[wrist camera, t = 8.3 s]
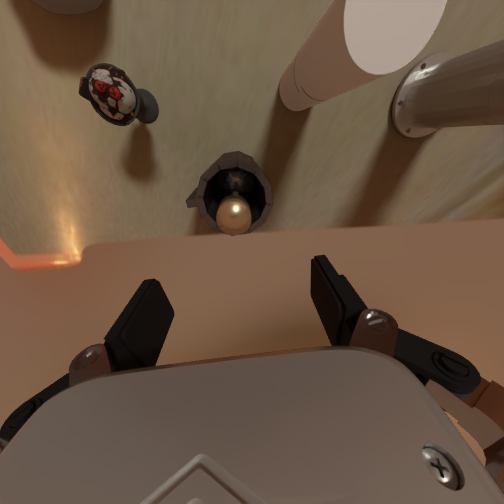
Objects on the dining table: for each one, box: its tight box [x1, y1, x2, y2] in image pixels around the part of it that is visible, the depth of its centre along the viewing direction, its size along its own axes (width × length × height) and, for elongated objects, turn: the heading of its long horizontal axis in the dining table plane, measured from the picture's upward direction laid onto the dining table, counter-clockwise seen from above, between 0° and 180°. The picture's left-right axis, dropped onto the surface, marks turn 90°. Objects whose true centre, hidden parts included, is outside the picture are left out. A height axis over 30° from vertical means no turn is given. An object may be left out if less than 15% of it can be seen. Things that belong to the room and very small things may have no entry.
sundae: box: [79, 63, 158, 126], centre depth 28 cm, size 7×7×15 cm
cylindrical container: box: [279, 0, 447, 111], centre depth 24 cm, size 7×7×25 cm
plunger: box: [216, 167, 255, 235], centre depth 31 cm, size 8×8×21 cm
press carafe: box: [186, 151, 273, 236], centre depth 35 cm, size 13×11×16 cm
